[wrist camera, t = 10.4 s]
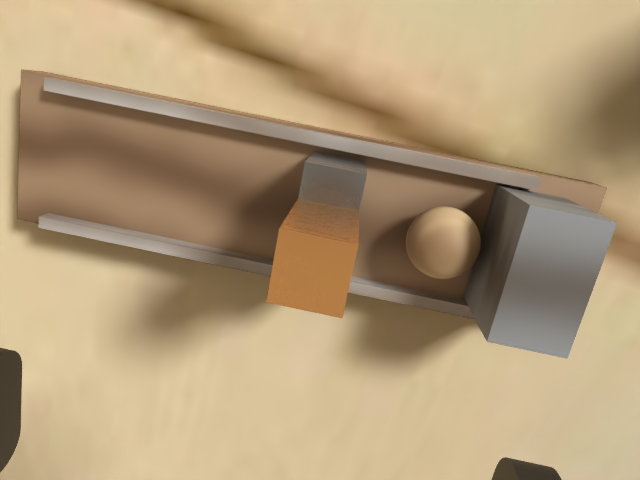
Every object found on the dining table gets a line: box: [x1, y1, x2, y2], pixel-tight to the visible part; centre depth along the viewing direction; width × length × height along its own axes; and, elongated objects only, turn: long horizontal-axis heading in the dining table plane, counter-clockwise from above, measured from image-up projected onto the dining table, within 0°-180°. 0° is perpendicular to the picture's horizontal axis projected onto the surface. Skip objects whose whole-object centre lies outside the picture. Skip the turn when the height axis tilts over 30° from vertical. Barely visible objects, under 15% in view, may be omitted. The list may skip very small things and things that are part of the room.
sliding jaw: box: [266, 151, 367, 318], centre depth 24 cm, size 7×3×11 cm, turn 169°
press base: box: [17, 70, 617, 358], centre depth 28 cm, size 9×34×8 cm, turn 79°
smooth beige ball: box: [406, 206, 481, 279], centre depth 28 cm, size 4×4×4 cm
